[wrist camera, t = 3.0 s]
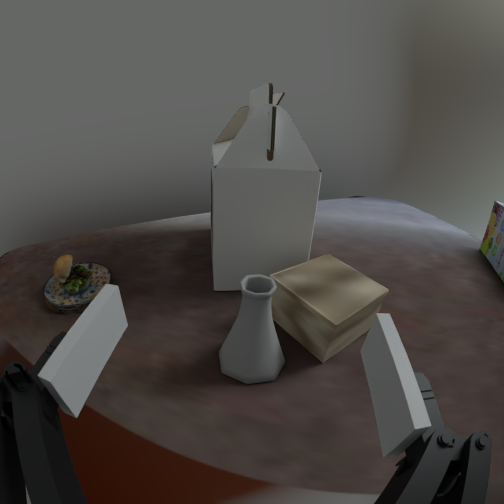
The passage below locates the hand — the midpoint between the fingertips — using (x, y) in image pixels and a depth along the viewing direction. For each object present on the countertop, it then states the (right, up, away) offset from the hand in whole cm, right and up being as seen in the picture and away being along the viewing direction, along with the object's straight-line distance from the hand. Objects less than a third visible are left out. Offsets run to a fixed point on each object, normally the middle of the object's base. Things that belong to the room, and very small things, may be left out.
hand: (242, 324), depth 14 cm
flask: (0, -8, +16) cm, 18 cm away
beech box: (+9, -5, +21) cm, 24 cm away
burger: (-26, -3, +23) cm, 35 cm away
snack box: (+63, -1, +37) cm, 73 cm away
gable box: (0, +3, +36) cm, 37 cm away
